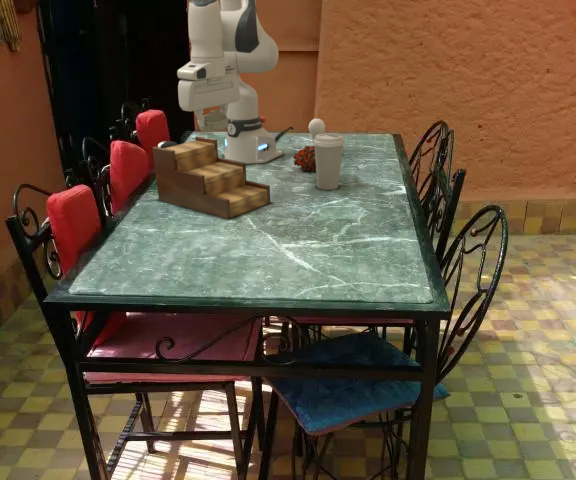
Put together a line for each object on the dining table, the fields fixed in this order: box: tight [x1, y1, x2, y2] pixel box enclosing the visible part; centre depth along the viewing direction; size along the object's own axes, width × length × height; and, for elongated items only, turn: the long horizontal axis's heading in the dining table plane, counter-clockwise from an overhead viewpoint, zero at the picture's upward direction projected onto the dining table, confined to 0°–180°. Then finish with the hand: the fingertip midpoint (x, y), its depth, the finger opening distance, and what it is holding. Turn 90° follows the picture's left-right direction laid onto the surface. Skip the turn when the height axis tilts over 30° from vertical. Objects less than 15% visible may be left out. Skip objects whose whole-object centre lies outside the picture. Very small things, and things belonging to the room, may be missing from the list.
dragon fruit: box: [292, 145, 316, 172], centre depth 212 cm, size 8×8×12 cm
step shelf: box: [152, 135, 271, 220], centre depth 182 cm, size 18×28×15 cm, turn 51°
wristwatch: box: [196, 109, 229, 133], centre depth 176 cm, size 9×6×5 cm
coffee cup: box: [312, 132, 346, 191], centre depth 193 cm, size 10×10×15 cm
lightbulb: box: [307, 118, 326, 146], centre depth 235 cm, size 6×6×11 cm
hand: (212, 123), depth 176 cm, fingers closed on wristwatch, 6 cm apart
